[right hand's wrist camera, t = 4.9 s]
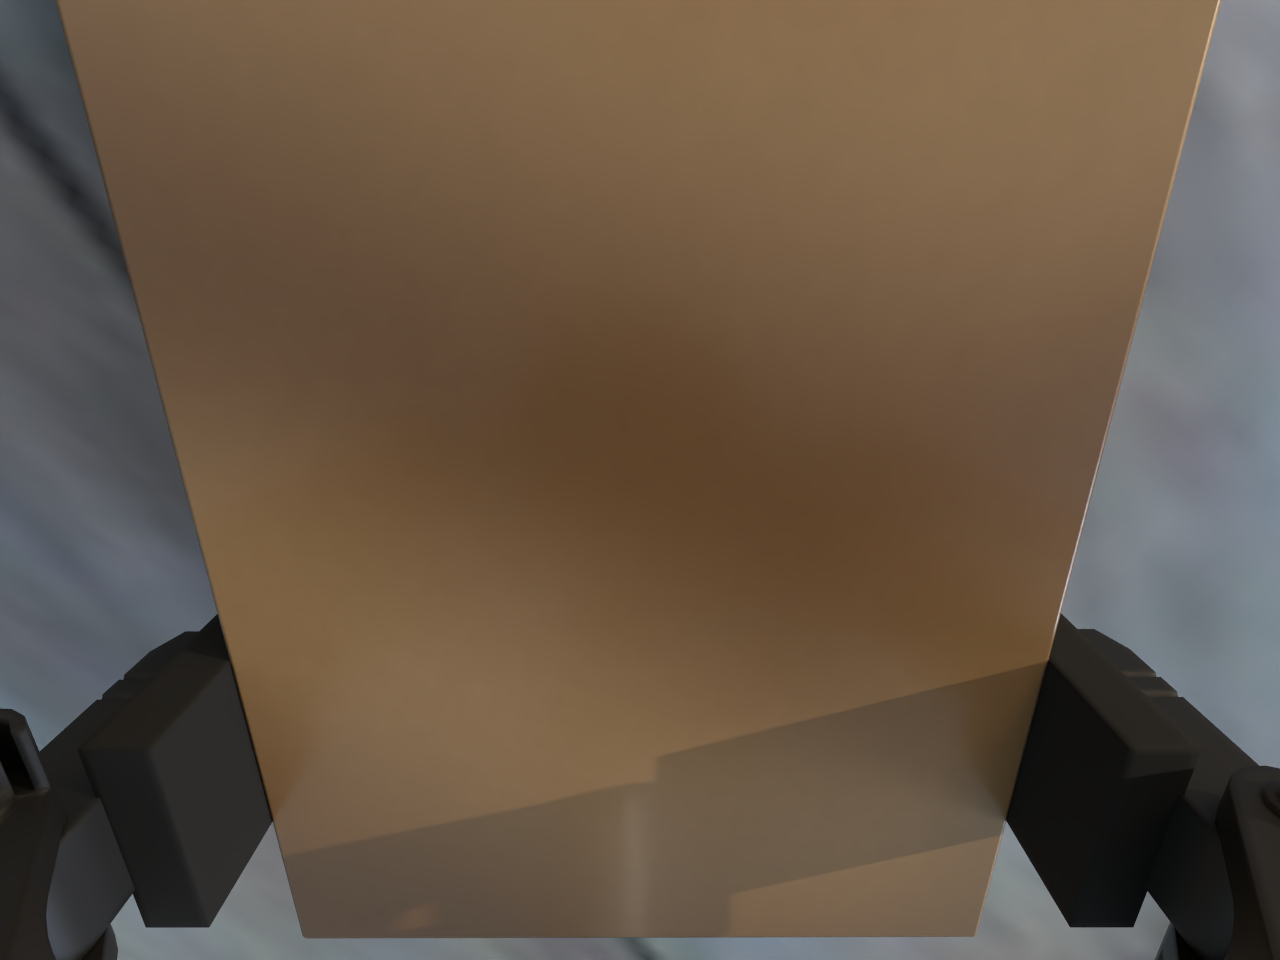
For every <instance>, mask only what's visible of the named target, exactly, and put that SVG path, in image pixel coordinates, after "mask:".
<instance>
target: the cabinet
mask: <svg viewBox="0 0 1280 960" xmlns="http://www.w3.org/2000/svg"><path fill="white" fill-rule="evenodd" d="M1220 3H1221V0H56V4H57V7H58V11H59V15H60V19H61V23H62V26H63V30H64V34H65V38H66V41H67V45H68V49H69V53H70V57H71V60H72V64H73V68H74V72H75V75H76V79H77V83H78V87H79V91H80V94H81V98H82V102H83V106H84V110H85V113H86V117H87V121H88V125H89V128H90V132H91V136H92V140H93V144H94V147H95V151H96V155H97V159H98V162H99V166H100V170H101V174H102V178H103V181H104V185H105V189H106V193H107V197H108V200H109V204H110V208H111V212H112V215H113V219H114V223H115V227H116V231H117V234H118V238H119V242H120V246H121V249H122V253H123V257H124V261H125V265H126V268H127V272H128V276H129V280H130V284H131V287H132V291H133V295H134V299H135V302H136V306H137V310H138V314H139V318H140V321H141V325H142V329H143V333H144V336H145V340H146V344H147V348H148V352H149V355H150V359H151V363H152V367H153V371H154V374H155V378H156V382H157V386H158V389H159V393H160V397H161V401H162V405H163V408H164V412H165V416H166V420H167V423H168V427H169V431H170V435H171V439H172V442H173V446H174V450H175V454H176V458H177V461H178V465H179V469H180V473H181V476H182V480H183V484H184V488H185V492H186V495H187V499H188V503H189V507H190V510H191V514H192V518H193V522H194V526H195V529H196V533H197V537H198V541H199V545H200V548H201V552H202V556H203V560H204V563H205V567H206V571H207V575H208V579H209V582H210V586H211V590H212V594H213V598H214V601H215V605H216V609H217V613H218V616H219V620H220V624H221V628H222V632H223V635H224V639H225V643H226V647H227V650H228V654H229V658H230V662H231V666H232V669H233V673H234V677H235V681H236V685H237V688H238V692H239V696H240V700H241V703H242V707H243V711H244V715H245V719H246V722H247V726H248V730H249V734H250V737H251V741H252V745H253V749H254V753H255V756H256V760H257V764H258V768H259V772H260V775H261V779H262V783H263V787H264V790H265V794H266V798H267V802H268V806H269V809H270V813H271V817H272V821H273V824H274V828H275V832H276V836H277V840H278V843H279V847H280V851H281V855H282V859H283V862H284V866H285V870H286V874H287V877H288V881H289V885H290V889H291V893H292V896H293V900H294V904H295V908H296V911H297V915H298V919H299V923H300V927H301V930H302V934H303V936H304V937H305V938H630V937H973V936H975V935H976V934H977V930H978V926H979V923H980V919H981V915H982V911H983V907H984V904H985V900H986V896H987V892H988V888H989V884H990V881H991V877H992V873H993V869H994V865H995V862H996V858H997V854H998V850H999V846H1000V843H1001V839H1002V835H1003V831H1004V827H1005V823H1006V820H1007V816H1008V812H1009V808H1010V804H1011V801H1012V797H1013V793H1014V789H1015V785H1016V781H1017V778H1018V774H1019V770H1020V766H1021V762H1022V759H1023V755H1024V751H1025V747H1026V743H1027V740H1028V736H1029V732H1030V728H1031V724H1032V720H1033V717H1034V713H1035V709H1036V705H1037V701H1038V698H1039V694H1040V690H1041V686H1042V682H1043V678H1044V675H1045V671H1046V667H1047V663H1048V659H1049V656H1050V652H1051V648H1052V644H1053V640H1054V637H1055V633H1056V629H1057V625H1058V621H1059V617H1060V614H1061V610H1062V606H1063V602H1064V598H1065V595H1066V591H1067V587H1068V583H1069V579H1070V576H1071V572H1072V568H1073V564H1074V560H1075V556H1076V553H1077V549H1078V545H1079V541H1080V537H1081V534H1082V530H1083V526H1084V522H1085V518H1086V514H1087V511H1088V507H1089V503H1090V499H1091V495H1092V492H1093V488H1094V484H1095V480H1096V476H1097V473H1098V469H1099V465H1100V461H1101V457H1102V453H1103V450H1104V446H1105V442H1106V438H1107V434H1108V431H1109V427H1110V423H1111V419H1112V415H1113V411H1114V408H1115V404H1116V400H1117V396H1118V392H1119V389H1120V385H1121V381H1122V377H1123V373H1124V370H1125V366H1126V362H1127V358H1128V354H1129V350H1130V347H1131V343H1132V339H1133V335H1134V331H1135V328H1136V324H1137V320H1138V316H1139V312H1140V308H1141V305H1142V301H1143V297H1144V293H1145V289H1146V286H1147V282H1148V278H1149V274H1150V270H1151V267H1152V263H1153V259H1154V255H1155V251H1156V247H1157V244H1158V240H1159V236H1160V232H1161V228H1162V225H1163V221H1164V217H1165V213H1166V209H1167V206H1168V202H1169V198H1170V194H1171V190H1172V186H1173V183H1174V179H1175V175H1176V171H1177V167H1178V164H1179V160H1180V156H1181V152H1182V148H1183V144H1184V141H1185V137H1186V133H1187V129H1188V125H1189V122H1190V118H1191V114H1192V110H1193V106H1194V103H1195V99H1196V95H1197V91H1198V87H1199V83H1200V80H1201V76H1202V72H1203V68H1204V64H1205V61H1206V57H1207V53H1208V49H1209V45H1210V41H1211V38H1212V34H1213V30H1214V26H1215V22H1216V19H1217V15H1218V11H1219V7H1220Z"/></svg>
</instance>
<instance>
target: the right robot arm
mask: <svg viewBox="0 0 1280 960" xmlns="http://www.w3.org/2000/svg"><path fill="white" fill-rule="evenodd" d="M1155 674H1156V672H1154V671H1153V670H1152V669H1151V668H1150V667H1149V666H1148V665H1147V664H1146V663H1144V662H1143V661H1142V660H1141V659H1140V658H1139V657H1138V656H1137V655H1136V654H1134V653H1133V652H1132V651H1131V650H1130V649H1129V648H1127V647H1125V646H1123V645H1121V644H1120V643H1118V642H1116V641H1114V640H1112V639H1111V638H1109V637H1107V636H1105V635H1104V634H1102V633H1100V632H1098V631H1096V630H1095V629H1077V628H1076V627H1075V626H1074V625H1072V624H1071V623H1070V622H1069V621H1068V620H1067V619H1066V618H1065V617H1064V616H1063V615H1062V614H1060V617H1059V621H1058V625H1057V629H1056V633H1055V637H1054V640H1053V644H1052V648H1051V652H1050V656H1049V659H1048V663H1047V667H1046V671H1045V675H1044V678H1043V682H1042V686H1041V690H1040V694H1039V698H1038V701H1037V705H1036V709H1035V713H1034V717H1033V720H1032V724H1031V728H1030V732H1029V736H1028V740H1027V743H1026V747H1025V751H1024V755H1023V759H1022V762H1021V766H1020V770H1019V774H1018V778H1017V781H1016V785H1015V789H1014V793H1013V797H1012V801H1011V804H1010V808H1009V812H1008V816H1007V820H1006V821H1007V823H1008V824H1009V826H1010V828H1011V829H1012V831H1013V833H1014V834H1015V836H1016V838H1017V839H1018V841H1019V843H1020V844H1021V846H1022V848H1023V849H1024V851H1025V853H1026V854H1027V856H1028V858H1029V859H1030V861H1031V863H1032V864H1033V866H1034V868H1035V869H1036V871H1037V873H1038V874H1039V876H1040V878H1041V879H1042V881H1043V883H1044V884H1045V886H1046V888H1047V889H1048V891H1049V893H1050V894H1051V896H1052V898H1053V899H1054V901H1055V903H1056V904H1057V906H1058V908H1059V909H1060V911H1061V913H1062V914H1063V916H1064V918H1065V919H1066V921H1067V923H1068V925H1069V926H1070V927H1134V924H1135V921H1136V919H1137V916H1138V914H1139V911H1140V908H1141V906H1142V903H1143V901H1144V898H1145V895H1146V893H1147V891H1148V892H1149V893H1150V895H1151V896H1152V897H1153V899H1154V900H1155V901H1156V903H1157V904H1158V905H1159V907H1160V908H1161V909H1162V911H1163V912H1164V914H1165V915H1166V916H1167V918H1168V919H1169V920H1170V924H1169V927H1168V929H1167V931H1166V934H1165V936H1164V939H1163V941H1162V943H1161V946H1160V948H1159V951H1158V953H1157V956H1156V958H1155V960H1280V769H1279V768H1274V767H1269V766H1259V765H1258V764H1257V763H1256V762H1255V761H1253V760H1252V759H1251V758H1250V757H1249V756H1248V755H1247V754H1246V753H1245V752H1243V751H1242V750H1241V749H1240V748H1239V747H1238V746H1237V745H1236V744H1235V743H1233V742H1232V741H1231V740H1230V739H1229V738H1228V737H1227V736H1226V735H1225V734H1223V733H1222V732H1221V731H1220V730H1219V729H1218V728H1217V727H1216V726H1215V725H1213V724H1212V723H1211V722H1210V721H1209V720H1208V719H1207V718H1206V717H1204V716H1203V715H1202V714H1201V713H1200V712H1199V711H1198V710H1197V709H1196V708H1194V707H1193V706H1192V705H1191V704H1190V703H1189V702H1188V701H1187V700H1186V699H1184V698H1183V697H1178V695H1177V691H1176V690H1174V689H1173V688H1172V687H1171V686H1170V685H1169V684H1168V683H1167V682H1166V681H1164V680H1163V679H1162V678H1161V677H1156V675H1155ZM271 823H272V817H271V813H270V809H269V806H268V802H267V798H266V794H265V790H264V787H263V783H262V779H261V775H260V772H259V768H258V764H257V760H256V756H255V753H254V749H253V745H252V741H251V737H250V734H249V730H248V726H247V722H246V719H245V715H244V711H243V707H242V703H241V700H240V696H239V692H238V688H237V685H236V681H235V677H234V673H233V669H232V666H231V662H230V658H229V654H228V650H227V647H226V643H225V639H224V635H223V632H222V628H221V624H220V620H219V616H218V614H217V615H216V616H215V617H214V618H213V619H212V620H211V621H210V622H209V623H208V624H207V625H206V626H205V627H204V628H203V629H201V630H200V631H199V632H184V633H182V634H180V635H179V636H177V637H175V638H173V639H172V640H170V641H168V642H166V643H164V644H163V645H161V646H159V647H157V648H156V649H154V650H152V651H150V652H149V653H148V654H147V655H146V656H145V657H144V658H143V659H141V660H140V661H139V662H138V663H137V664H136V665H135V666H134V667H133V668H132V669H130V670H129V671H128V672H127V673H126V674H125V675H124V679H123V680H118V681H117V682H116V683H115V684H114V685H113V686H112V687H111V688H109V689H108V690H107V691H106V692H105V693H104V694H103V697H102V700H96V701H95V702H94V703H93V704H92V705H91V706H90V707H88V708H87V709H86V710H85V711H84V712H83V713H82V714H81V715H80V716H79V717H77V718H76V719H75V720H74V721H73V722H72V723H71V724H70V725H69V726H67V727H66V728H65V729H64V730H63V731H62V732H61V733H60V734H59V735H58V736H56V737H55V738H54V739H53V740H52V741H51V742H50V743H49V744H48V745H47V746H45V747H44V748H43V749H42V750H41V751H40V752H39V750H38V748H37V745H36V743H35V740H34V738H33V735H32V733H31V731H30V728H29V726H28V723H27V721H26V718H25V716H23V715H22V714H20V713H18V712H16V711H14V710H12V709H0V960H117V954H118V948H117V943H116V938H115V934H114V931H113V929H112V927H111V924H110V923H111V922H112V920H113V919H114V918H115V916H116V915H117V914H118V912H119V911H120V910H121V908H122V907H123V906H124V904H125V903H126V902H127V900H128V899H129V897H130V896H131V895H132V893H133V895H134V898H135V901H136V903H137V906H138V908H139V911H140V913H141V916H142V919H143V921H144V924H145V926H146V927H210V925H211V923H212V922H213V920H214V918H215V917H216V915H217V913H218V912H219V910H220V908H221V907H222V905H223V903H224V902H225V900H226V898H227V897H228V895H229V893H230V892H231V890H232V888H233V887H234V885H235V883H236V881H237V880H238V878H239V876H240V875H241V873H242V871H243V870H244V868H245V866H246V865H247V863H248V861H249V860H250V858H251V856H252V855H253V853H254V851H255V850H256V848H257V846H258V845H259V843H260V841H261V840H262V838H263V836H264V835H265V833H266V831H267V830H268V828H269V826H270V825H271Z"/></svg>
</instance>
